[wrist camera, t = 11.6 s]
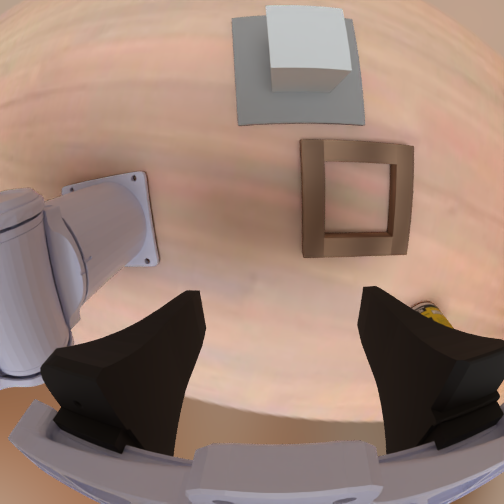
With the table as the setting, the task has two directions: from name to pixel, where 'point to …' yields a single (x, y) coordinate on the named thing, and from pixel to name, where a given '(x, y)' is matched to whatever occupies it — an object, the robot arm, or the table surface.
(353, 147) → the holder
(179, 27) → the table surface
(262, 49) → the coaster
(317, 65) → the block
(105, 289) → the table surface
